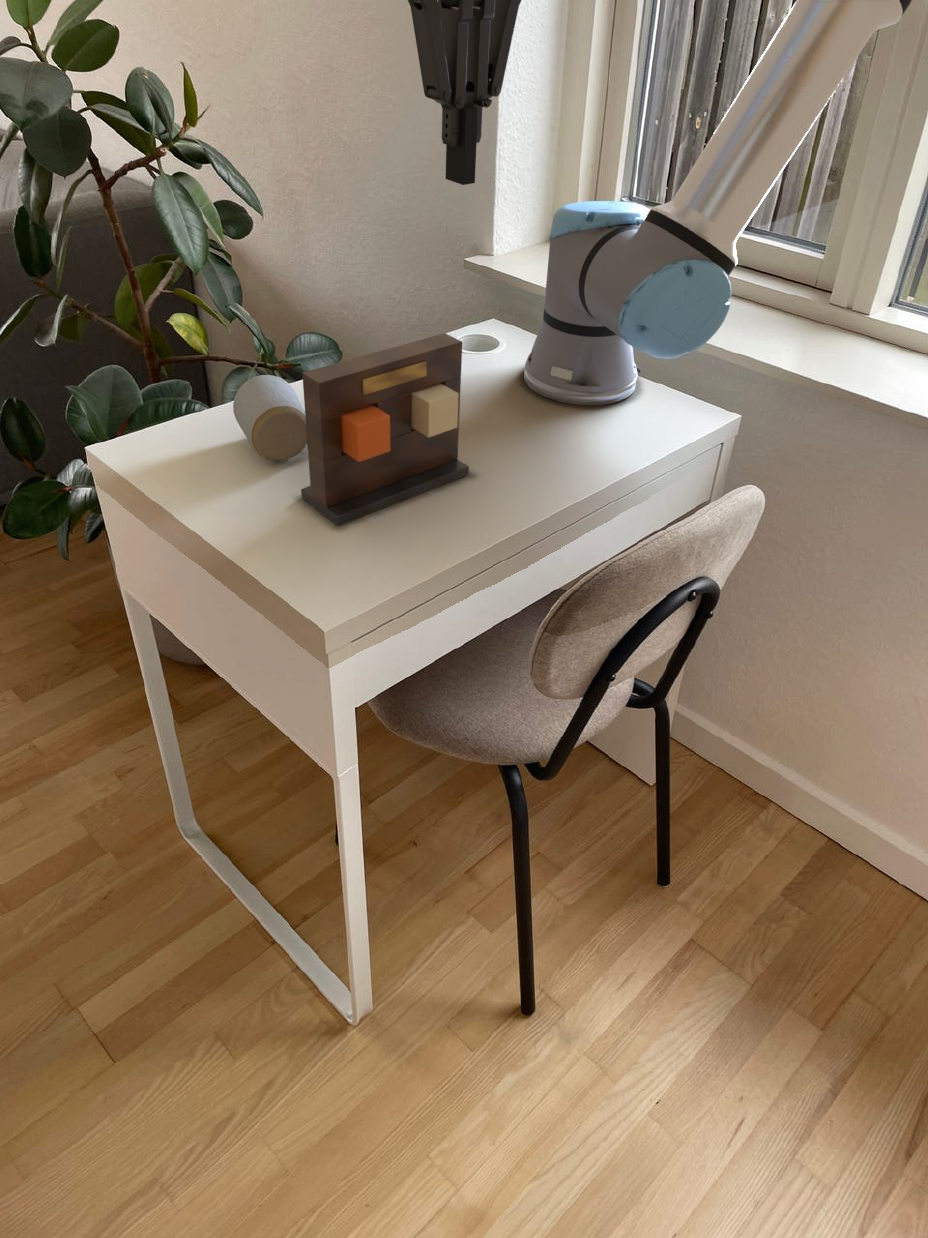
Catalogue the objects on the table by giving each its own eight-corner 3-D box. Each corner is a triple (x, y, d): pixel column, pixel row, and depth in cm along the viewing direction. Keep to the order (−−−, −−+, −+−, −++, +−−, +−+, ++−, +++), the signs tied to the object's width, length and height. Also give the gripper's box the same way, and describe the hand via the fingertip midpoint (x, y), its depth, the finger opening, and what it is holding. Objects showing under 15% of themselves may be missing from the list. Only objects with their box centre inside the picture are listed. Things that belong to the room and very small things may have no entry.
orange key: (367, 436, 98) (366, 401, 96) (390, 451, 96) (390, 415, 94) (336, 446, 96) (334, 411, 94) (358, 462, 94) (357, 426, 91)
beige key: (434, 414, 103) (435, 379, 101) (457, 427, 101) (458, 393, 98) (405, 423, 101) (405, 389, 98) (428, 437, 99) (429, 402, 96)
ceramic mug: (254, 470, 106) (248, 407, 101) (235, 438, 111) (229, 377, 107) (342, 455, 110) (341, 394, 105) (320, 425, 115) (318, 365, 110)
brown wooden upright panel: (430, 451, 111) (433, 326, 101) (468, 475, 107) (474, 347, 97) (301, 498, 101) (290, 365, 92) (337, 526, 97) (330, 390, 88)
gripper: (437, -131, 71) (432, 199, 85) (559, -124, 78) (534, 180, 92) (379, -134, 75) (383, 180, 90) (499, -127, 82) (484, 164, 97)
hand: (460, 180), depth 91 cm, fingers closed
